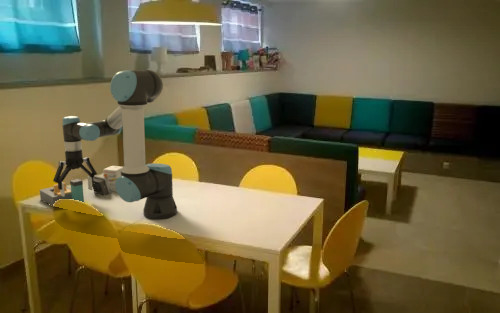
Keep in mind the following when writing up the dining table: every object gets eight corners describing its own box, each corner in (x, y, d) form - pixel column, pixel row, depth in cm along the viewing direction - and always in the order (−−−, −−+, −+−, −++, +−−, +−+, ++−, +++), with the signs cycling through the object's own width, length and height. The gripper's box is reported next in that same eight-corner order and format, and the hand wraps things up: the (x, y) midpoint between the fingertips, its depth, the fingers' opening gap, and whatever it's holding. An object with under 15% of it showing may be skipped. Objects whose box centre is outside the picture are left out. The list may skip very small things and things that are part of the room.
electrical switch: (111, 193, 225) (108, 176, 222) (103, 197, 221) (100, 180, 218) (99, 190, 230) (96, 174, 227) (91, 193, 226) (88, 177, 223)
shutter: (72, 192, 209) (71, 185, 208) (58, 195, 205) (58, 188, 204) (66, 189, 213) (65, 182, 213) (53, 192, 209) (52, 185, 208)
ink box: (103, 190, 230) (102, 168, 228) (113, 185, 238) (111, 165, 235) (117, 191, 228) (116, 170, 225) (126, 187, 236) (125, 166, 233)
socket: (78, 201, 212) (77, 191, 211) (53, 207, 204) (52, 197, 203) (64, 194, 223) (63, 184, 222) (40, 199, 215) (39, 189, 214)
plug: (84, 204, 208) (82, 180, 206) (76, 206, 205) (73, 182, 203) (80, 202, 211) (78, 178, 208) (72, 204, 208) (69, 180, 205)
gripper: (94, 144, 213) (97, 185, 218) (42, 152, 196) (47, 196, 201) (102, 147, 208) (104, 188, 213) (49, 155, 191) (53, 200, 196)
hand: (76, 192), depth 207 cm, fingers open, 13 cm apart
